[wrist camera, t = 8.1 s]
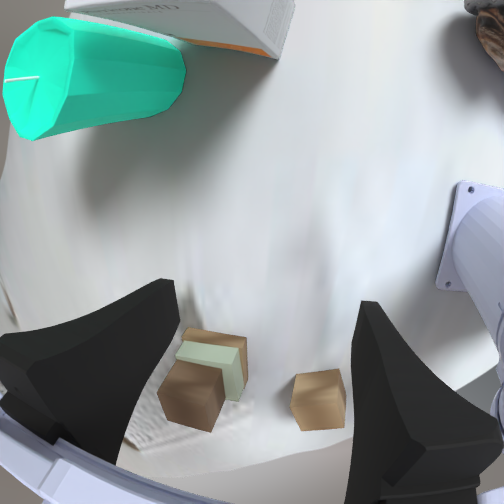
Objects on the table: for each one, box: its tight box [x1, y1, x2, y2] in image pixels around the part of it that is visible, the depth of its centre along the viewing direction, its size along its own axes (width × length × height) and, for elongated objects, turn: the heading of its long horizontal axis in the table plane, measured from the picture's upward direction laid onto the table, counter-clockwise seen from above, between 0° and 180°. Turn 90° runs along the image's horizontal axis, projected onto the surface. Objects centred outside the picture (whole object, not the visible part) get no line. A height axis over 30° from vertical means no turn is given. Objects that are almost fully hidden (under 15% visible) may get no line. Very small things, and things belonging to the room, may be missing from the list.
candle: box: [3, 16, 186, 141], centre depth 13 cm, size 6×6×12 cm
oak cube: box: [290, 369, 346, 431], centre depth 25 cm, size 4×4×4 cm
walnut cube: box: [157, 359, 226, 433], centre depth 24 cm, size 4×4×4 cm
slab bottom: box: [182, 327, 248, 389], centre depth 28 cm, size 6×6×2 cm
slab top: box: [175, 340, 244, 402], centre depth 26 cm, size 5×5×2 cm
